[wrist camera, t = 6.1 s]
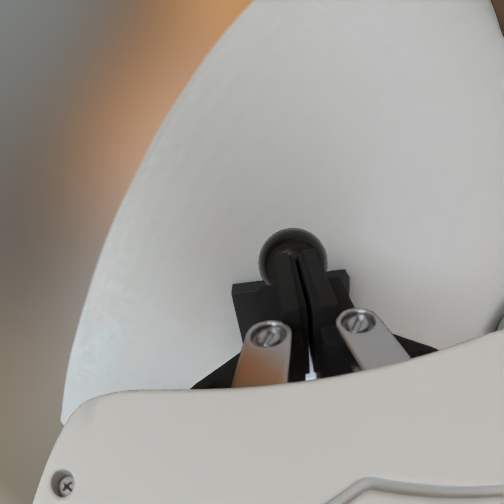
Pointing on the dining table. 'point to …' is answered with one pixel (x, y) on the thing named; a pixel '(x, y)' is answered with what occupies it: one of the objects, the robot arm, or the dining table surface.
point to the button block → (499, 12)
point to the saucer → (501, 324)
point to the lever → (293, 244)
